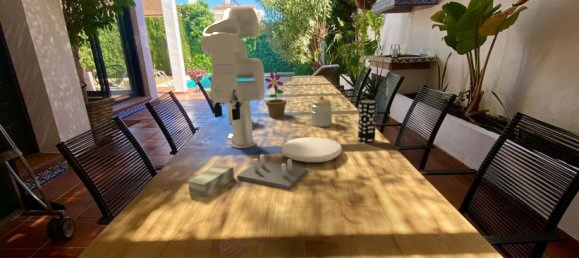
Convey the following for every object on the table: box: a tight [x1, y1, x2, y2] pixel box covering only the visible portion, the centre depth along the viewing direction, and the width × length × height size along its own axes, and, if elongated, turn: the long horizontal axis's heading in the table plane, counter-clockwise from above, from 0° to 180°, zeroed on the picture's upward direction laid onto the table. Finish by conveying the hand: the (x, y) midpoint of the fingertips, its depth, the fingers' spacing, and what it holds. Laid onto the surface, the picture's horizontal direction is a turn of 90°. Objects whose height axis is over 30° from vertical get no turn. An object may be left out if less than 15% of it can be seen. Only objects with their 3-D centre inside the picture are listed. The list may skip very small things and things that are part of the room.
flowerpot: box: [264, 72, 288, 119], centre depth 203 cm, size 14×14×30 cm
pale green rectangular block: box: [187, 163, 235, 198], centre depth 109 cm, size 16×7×5 cm, turn 154°
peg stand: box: [236, 154, 309, 191], centre depth 115 cm, size 22×16×6 cm
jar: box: [310, 95, 333, 128], centre depth 182 cm, size 13×13×18 cm
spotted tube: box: [357, 99, 378, 144], centre depth 149 cm, size 8×8×20 cm
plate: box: [281, 136, 343, 163], centre depth 135 cm, size 28×6×27 cm
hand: (227, 118), depth 109 cm, fingers open, 9 cm apart
